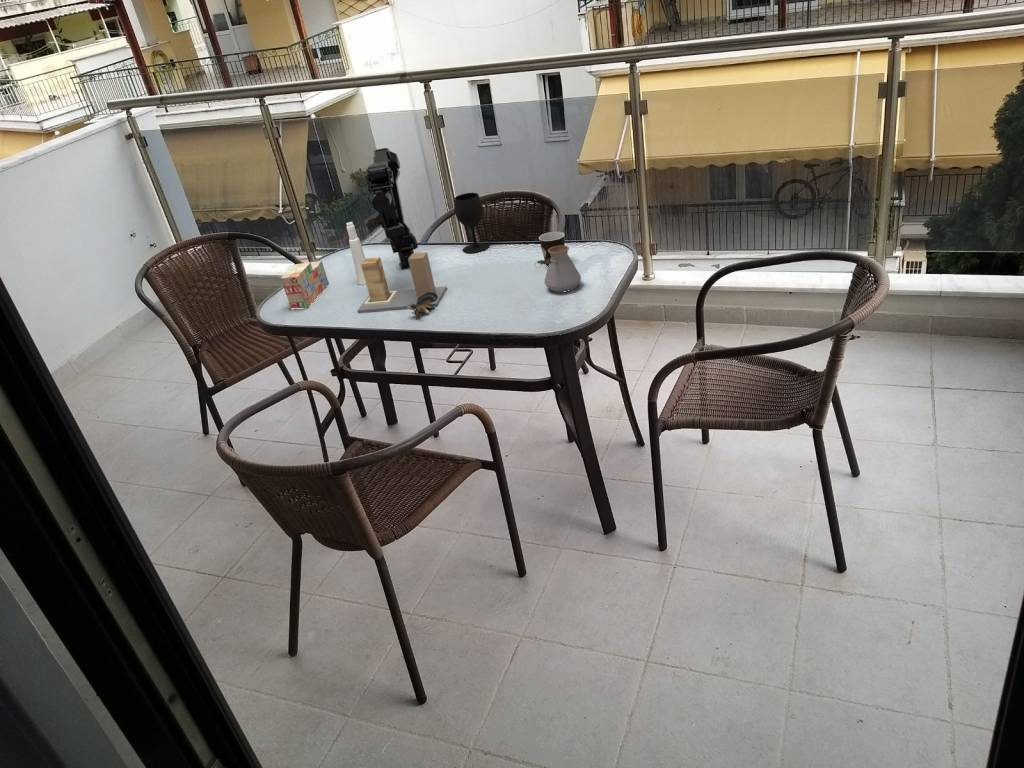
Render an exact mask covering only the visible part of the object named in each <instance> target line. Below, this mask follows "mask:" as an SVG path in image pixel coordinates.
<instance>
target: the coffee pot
mask: <svg viewBox="0 0 1024 768" xmlns="http://www.w3.org/2000/svg"><path fill="white" fill-rule="evenodd" d="M569 250H570V247H569V246H568V245H565V246H563V245H562V246H555V247H552V248H549V249H548V252H549V253H550V255H551V259H550V261H549V260H544V259H540V260H537V261H536V262H535V264H540V266H539V267H537V266H536V265H534V268H536V269H539V268H541V267H542V265H546V264H549V266H548V267H547V271H546V273H545V277H544V284H545V286H546V287H547V288H548V289H550V290H551V291H552V290H553V291H552V292H554V291H556V292H555V293H558V292H562V293H565V292H564V291H568V290H571V289H573V290H574V289H576V287H577V286H578V285H579V284H580V282H581V279H582V277H581V276H582V275H581V274H580V272H579V271H578V268H577V267H576V266H575V264H574V263H573V261H572V260H571V257H570V256H569V255H568V253H569ZM571 291H572V290H571ZM568 292H569V291H568Z"/></svg>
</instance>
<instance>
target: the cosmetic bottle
mask: <svg viewBox="0 0 1024 768" xmlns="http://www.w3.org/2000/svg"><path fill="white" fill-rule="evenodd" d="M346 231H347V234H348V238H349V240H348V243H349V247H350V252H351V258H352V262H353V266H354V270H355V278H356V283H357V285H359V286H365V285H366V281H365V277H364V273H363V270H362V266H361V263H362V262H363V261H364V260H365V259H366V258H367V257H366V256H365V253H364V252H365V251H364V249H363V246H362V243H361V239H360V238H359V237H358V235H357V230H356V227H355V225H354V222H353V221H349V222H346ZM366 286H367V285H366Z"/></svg>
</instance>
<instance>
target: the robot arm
mask: <svg viewBox="0 0 1024 768" xmlns="http://www.w3.org/2000/svg"><path fill="white" fill-rule="evenodd" d="M373 154H374V156H373V158H372V159H373V163H372V164H369V165H368V166H367V170H366V171H365V175H366V176H365V177H366V182H367V189H368V192H373V195H374V196H373V198H372V201H371V206H372V208H373V210H375V213H373V214H372V215H370V216H369V217H367V218H365V219H364V220H363V224H364V225H365V226H366V229H368V231H369V232H372V231H374V230H375V229H377V227H380V226H381V228H382V229H383V231H384V235H385V237H386V238H387V239H389V243H390V247H391V250H392V252H393V254H396V253H397V254H398V259H399V263H398V264H399V265H398V266H399V267H400V269H401V270H405V269H406V270H407V269H410V266H409V261H408V259H409V257H410V256H411V255H412V254H414V253H415V252H414V250H417V249H418V248H419V244H418V240H417V237H416V236H415V235H414V233H413V232H412V230H411V228H410V227H409V225H407V223H406V222H405V218H404V217H405V216H404V211H403V206H402V202H401V201H402V200H401V196H400V192H399V186H398V179H399V177H400V175H401V173H400V169H401V163H400V160H399V157H398V154H397V153H395V152H393V151H391V150H390V148H388V147H384V148H382V147H381V148H379V149H375V150H374V151H373Z"/></svg>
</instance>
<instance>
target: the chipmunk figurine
mask: <svg viewBox="0 0 1024 768" xmlns="http://www.w3.org/2000/svg"><path fill="white" fill-rule="evenodd" d="M437 298H438V295H437V294H435V293H434V292H428V293H425V294H424V295H422V296H421V297H419V298H418V300H417V303H416V304H413V303H410V304H408V305H407V308H408V309H407V310H410V311H411V314H414V315H415V319H416V320H417V319H418V318H419V315H420V313H426V314H427V315H429V316H430V315H431V313H430V311H429V310H428V309H436V307H430V306H428V305H429V304H431V303H432V302H435V301H436V300H437ZM412 310H413V311H412Z"/></svg>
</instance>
